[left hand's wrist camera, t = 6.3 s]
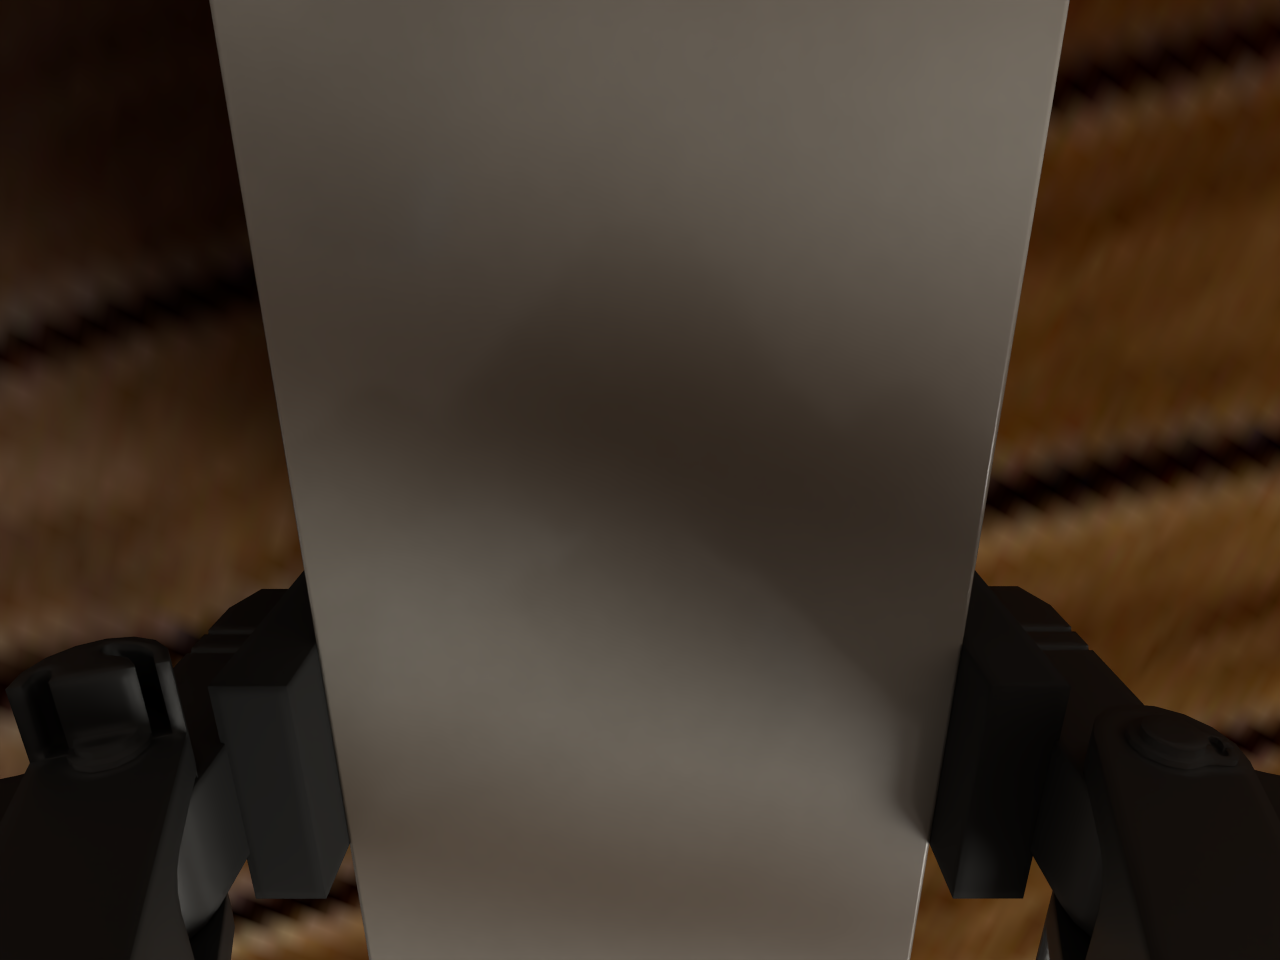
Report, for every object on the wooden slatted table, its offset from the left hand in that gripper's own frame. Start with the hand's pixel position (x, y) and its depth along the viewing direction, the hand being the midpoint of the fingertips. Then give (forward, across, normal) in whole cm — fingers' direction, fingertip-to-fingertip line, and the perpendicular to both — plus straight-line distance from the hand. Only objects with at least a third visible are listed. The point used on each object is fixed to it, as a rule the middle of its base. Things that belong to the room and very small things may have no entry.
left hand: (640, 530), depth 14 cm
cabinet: (+5, 0, -4) cm, 6 cm away
